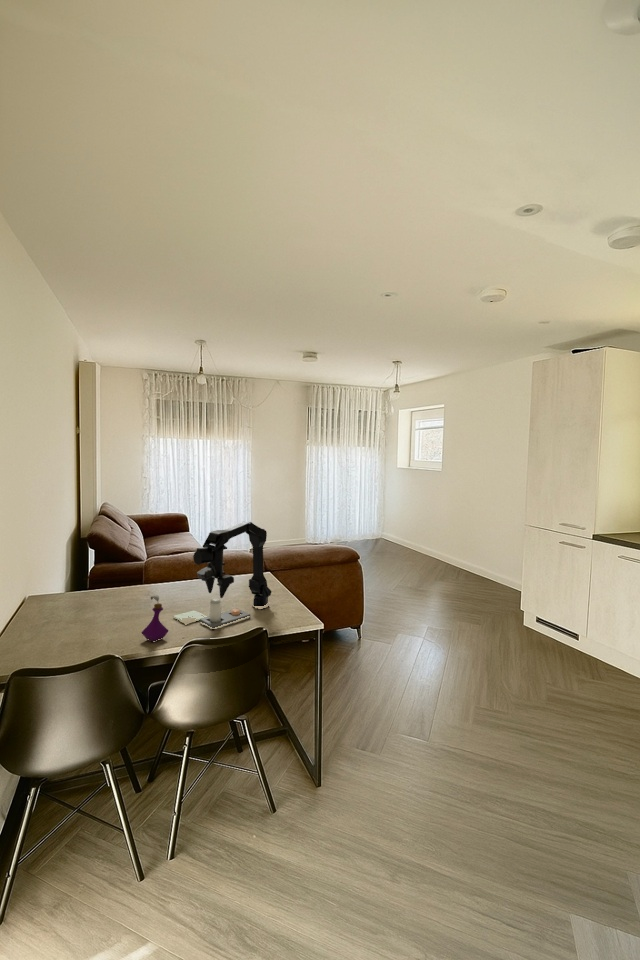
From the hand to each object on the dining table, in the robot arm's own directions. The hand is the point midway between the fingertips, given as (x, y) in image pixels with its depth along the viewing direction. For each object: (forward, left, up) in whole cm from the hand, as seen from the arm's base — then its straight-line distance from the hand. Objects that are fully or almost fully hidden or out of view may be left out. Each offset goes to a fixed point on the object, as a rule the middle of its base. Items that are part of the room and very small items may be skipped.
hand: (215, 595), depth 197 cm
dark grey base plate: (-6, 0, -13) cm, 14 cm away
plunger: (-11, 0, -13) cm, 17 cm away
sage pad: (+4, -13, -13) cm, 19 cm away
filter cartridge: (0, 0, -13) cm, 13 cm away
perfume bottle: (+26, -3, -13) cm, 30 cm away
